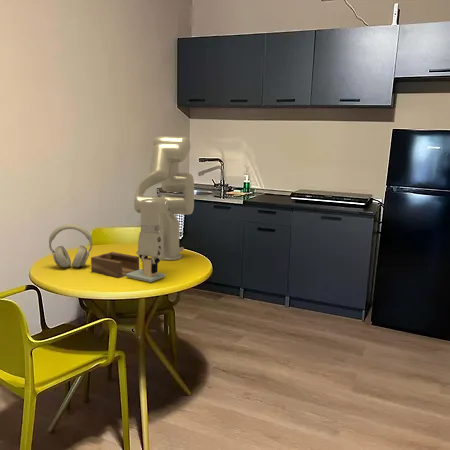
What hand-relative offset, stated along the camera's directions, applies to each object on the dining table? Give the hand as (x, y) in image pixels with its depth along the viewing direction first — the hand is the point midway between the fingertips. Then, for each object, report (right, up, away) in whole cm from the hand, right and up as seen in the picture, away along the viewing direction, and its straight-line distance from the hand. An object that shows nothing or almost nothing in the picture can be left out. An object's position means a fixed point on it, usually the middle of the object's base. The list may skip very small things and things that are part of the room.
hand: (150, 271), depth 192 cm
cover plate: (-2, -2, +2) cm, 4 cm away
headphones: (-38, 0, +15) cm, 41 cm away
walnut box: (-17, -1, +10) cm, 20 cm away
